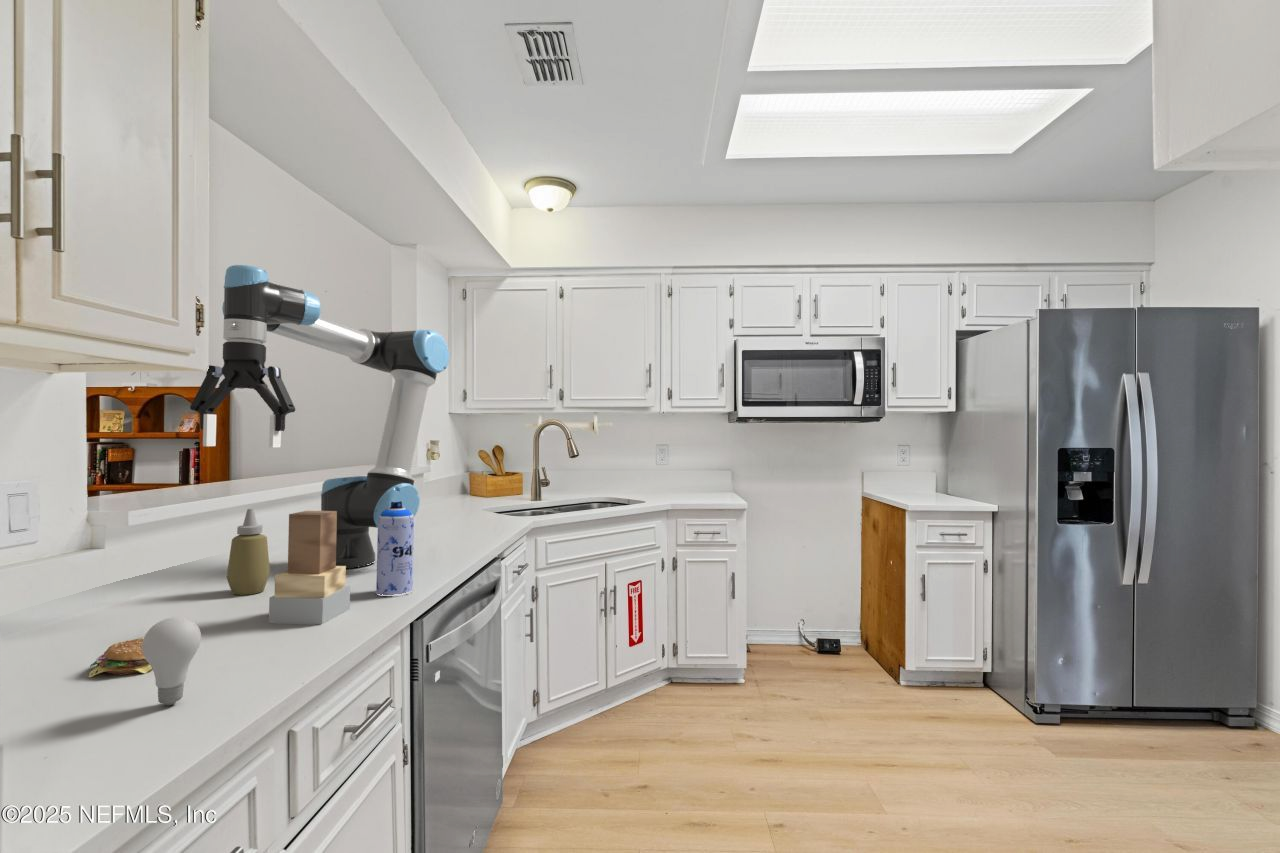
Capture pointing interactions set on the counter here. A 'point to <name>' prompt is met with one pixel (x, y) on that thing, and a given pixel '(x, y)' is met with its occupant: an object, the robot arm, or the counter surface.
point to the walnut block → (312, 542)
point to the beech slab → (310, 584)
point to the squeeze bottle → (248, 558)
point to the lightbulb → (171, 655)
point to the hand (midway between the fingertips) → (242, 447)
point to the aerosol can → (395, 550)
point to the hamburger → (122, 659)
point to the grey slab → (309, 608)
